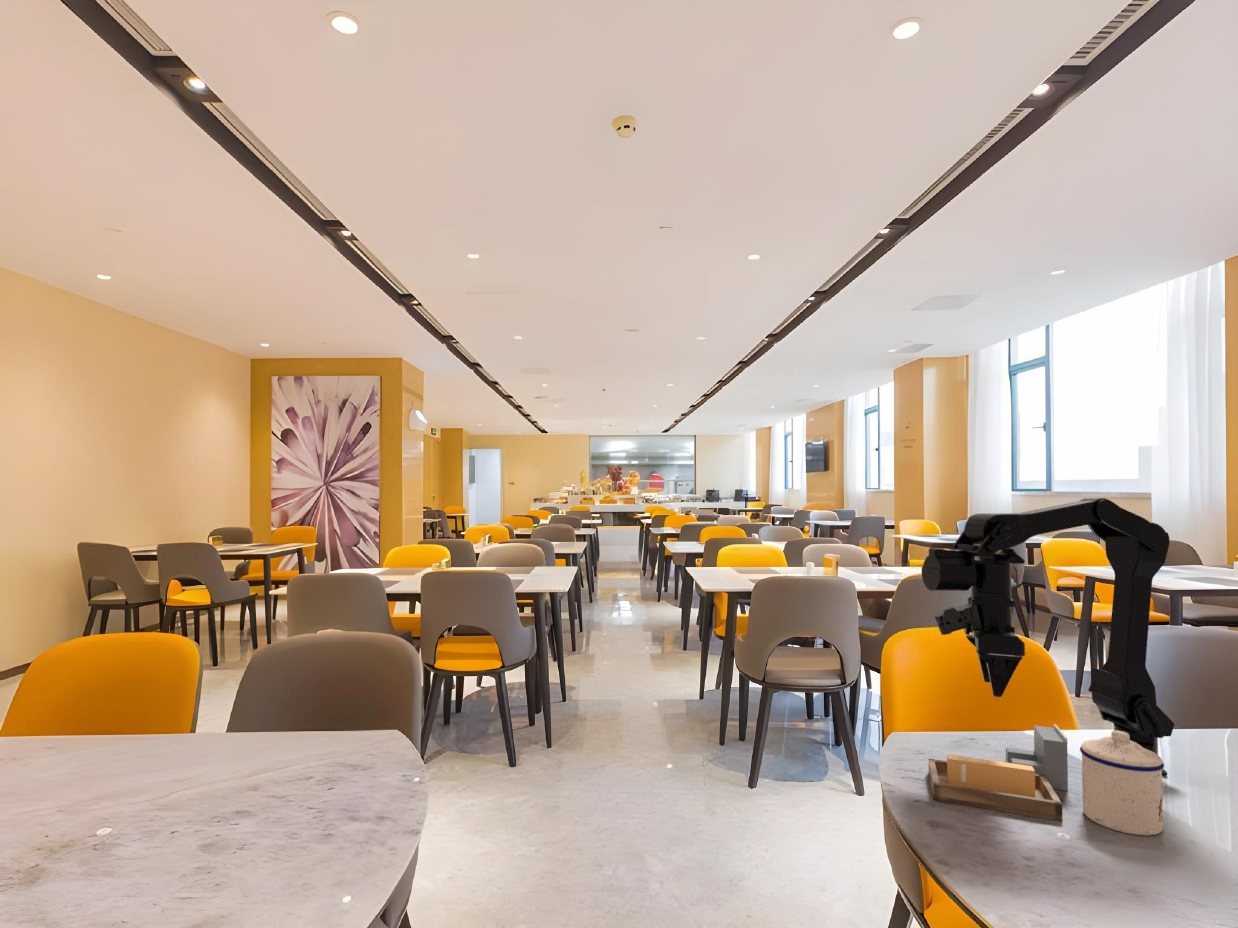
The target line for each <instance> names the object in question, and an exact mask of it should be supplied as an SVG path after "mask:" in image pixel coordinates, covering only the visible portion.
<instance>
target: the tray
mask: <svg viewBox="0 0 1238 928" xmlns="http://www.w3.org/2000/svg"><path fill="white" fill-rule="evenodd" d="M928 776H929V781H930V788H931V794H932V800H933V801H937V802H944V803H949V804H957V805H962V806H969V807H973V808H980V809H987V810H992V811H998V812H1005V813H1010V814H1011V813H1012V814H1017V815H1023V816H1029V817H1036V818H1042V819H1047V820H1048V819H1049V820H1052V821H1053V820H1055V821H1060V822H1063V803H1062V801H1061V800H1060V798H1059V796H1058V795H1057V793H1056V791H1055V789H1053V788H1052V786H1051V785H1050V783H1049V782H1048V780H1047V778H1046V777H1045V775H1041V774H1035V798H1034V797H1027V796H1021V795H1014V794H1008V793H1001V792H995V791H988V790H982V789H975V788H969V787H962V786H956V785H949V784H948V783H947V760H944V759H943V760H941V759H935V758H928Z"/></svg>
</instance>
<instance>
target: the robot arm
mask: <svg viewBox="0 0 1238 928" xmlns="http://www.w3.org/2000/svg"><path fill="white" fill-rule="evenodd" d="M1084 526H1088V528H1089V529H1090V531H1091V532H1092V534H1093V535H1094V536H1096V537H1097V538H1098V539H1100V540H1102V541H1103V542H1104V544H1105V545H1104V546H1105V555H1106V558H1107V560H1108V562H1109V564H1110V566H1111V568H1112V570H1113V573H1114V580H1113V581H1114V584H1113V593H1112V595H1113V597H1112V606H1111V607H1112V608H1111V616H1110V617H1111V619H1110V630H1109V631H1110V633H1109V643H1108V644H1109V646H1108V657H1107V660H1106V662H1105V663H1104V664H1103V665H1102V666H1101V667H1100V668H1096V667H1092V668H1091V670H1090V677H1091V679H1090V680H1091V681H1090V685H1089V688H1088V692H1089V693H1091V699H1092V702H1093V703H1094V704H1095V705H1096V707H1097V708H1098V711H1099V713H1100V716H1101V719H1102V720H1103V721H1107V722H1110V723H1112V724H1113V731H1114V730H1118V731H1123V732H1126V733H1128V734H1129V736H1130V740H1131V741H1134V742H1136V743H1137V744H1139V745H1140V746H1142V747H1143V748H1145V749H1148V750H1150V751H1152V752H1154V753H1156V754H1157V755H1158V756H1159V739H1163V738H1164V737H1171V736H1172V733H1173V731H1174V727H1175V723H1174V721H1172V719H1171V718H1169V717H1168V715H1167V714H1166V713H1165V712H1164V711H1163V710H1162V709H1161V708H1160V707H1159V706H1158V705H1157V702H1158V701H1157V693H1156V692H1157V691H1156V685H1155V684H1154V682H1153V680H1152V678H1151V676H1150V673H1149V672H1148V670H1147V667H1146V665H1147V663H1146V662H1147V653H1148V641H1149V640H1148V638H1149V637H1148V636H1149V628H1150V627H1149V624H1150V612H1151V601H1152V590H1153V589H1152V587H1153V579H1154V578H1155V577H1154V576H1156V574H1157V573H1158V572H1159V571H1160V570H1161V569H1162V567H1163V566H1164V564H1165V563H1166V559H1167V555H1168V551H1169V549H1170V548H1169V547H1170V540H1171V539H1170V536H1169V533H1168V532H1167V531H1166V530H1165V529H1164V527H1162V525H1160V524H1158V523H1155V522H1151V521H1149V520H1147V519H1146V518H1144V517H1143V516H1140V515H1138V514H1136V513H1134V512H1132V511H1129V510H1127V509H1124V508H1123V507H1121V506H1119V505H1118V504H1116V502H1113V501H1112V500H1110V499H1108V498H1105V497H1102V498H1101V497H1100V498H1099V497H1098V498H1096V497H1095V498H1093V497H1092V498H1081V499H1080V500H1078V501H1074V502H1073V501H1072V502H1068V503H1063V504H1057V505H1053V506H1047V507H1043V508H1038V509H1032V510H1028V511H1024V512H1014V513H1013V512H1011V513H1010V512H1009V513H1007V512H1006V513H1003V512H1001V513H994V512H993V513H975V514H971V516H969V517H968V518H967V521H966V522H965V526H964V529H963V531H962V532H961V534H960V535H959V536H958V538H957V539H956V540H955V542H954V544H953V545H952V546H951V548H950V549H944V548H938V547H937V548H936V547H933V548H932V547H930V548H929V549H928V556H926V558H925V559H924V561H923V565H922V567H921V578H922V582H923V584H924V586H925V588H926V589H927V590H929V591H930V592H931V591H932V592H933V591H934V592H935V591H937V592H941V591H942V592H957V591H958V592H966V591H969V590H971V593H970V594H969V596H967V603H966V604H961V605H957V606H951V607H950V608H943V609H941V610H938V611H935V612H933V613H932V614H933V616H934V620H935V622H936V625H937V628H938V629H939V630H938V631H939V633H940V634H941V635H942V636H946V635H951V634H952V633H953V632H956V631H961V630H963V632H964V634H965V638H966V639H967V640H968V641H969V642H970V643H971V645H973V646H974V648H975V652H976V653H977V656H978V661H979V664H980V665H979V666H980V668H981V669H980V670H981V673H982V677H983V681H984V682H985V683H990V686H991V692H992V695H993V696H994V697H995V698H996V697H997V698H1001V697H1003V694H1004V692H1005V691H1006V689H1007V687H1008V684H1009V682H1010V680H1011V678H1012V677H1013V674H1014V673H1015V671H1016V669H1017V667H1018V666H1019V663H1020V662H1021V661H1022V660H1023V657H1024V656H1025V655H1026V652H1025V651H1026V644H1025V642H1024V641H1023V640H1022V639H1021V638H1020V637H1019V636H1017V634H1016V633H1015V632H1016V630H1015V626H1014V625H1013V614H1012V613H1013V612H1012V611H1013V610H1012V609H1013V607H1015V599H1013V598H1012V565H1014V564H1015V565H1018V564H1019V565H1023V564H1025V562H1026V560H1025V559H1024V558H1023V557H1021V556H1020V555H1019V554H1018V553H1017V552H1016V551H1015V549H1013V548H1014V547H1017V546H1020V545H1022V544H1024V543H1025V542H1026V541H1028V540H1030V538H1033V537H1035V536H1039V535H1043V534H1049V533H1054V532H1058V531H1064V530H1068V529H1069V530H1070V529H1074V528H1078V527H1084ZM999 551H1000V552H999ZM975 557H978V558H975ZM970 588H971V589H970ZM1162 776H1166V777H1167V776H1168V771H1166V770H1165V769H1164V768H1163V769H1162Z"/></svg>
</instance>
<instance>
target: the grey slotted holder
mask: <svg viewBox="0 0 1238 928" xmlns="http://www.w3.org/2000/svg"><path fill="white" fill-rule="evenodd" d="M1033 743H1034V744H1033V746H1034V747H1033V749H1034V750H1028V749H1022V748H1021V749H1019V748H1013V747H1005V762H1007V763H1014V764H1021V765H1028V766H1032V767H1033V769H1034V770H1035V774H1041V775H1045V777H1046V778H1047V780H1048V782H1049V783H1050V785H1051V786H1052V788H1053V790H1059V791H1066V792H1068V791H1069V786H1068V785H1069V784H1068V783H1069V778H1068V775H1069V773H1068V772H1069V771H1068V767H1069V766H1068V737H1067V736H1066V735H1065V733H1064V732H1063V731H1062V730H1061V729H1060V728H1059V726H1058V724H1055V723H1053V727H1050V726H1043V725H1042V726H1040V725H1033Z"/></svg>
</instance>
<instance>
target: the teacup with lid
mask: <svg viewBox="0 0 1238 928" xmlns="http://www.w3.org/2000/svg"><path fill="white" fill-rule="evenodd" d="M1110 735H1111V736H1104V737H1101V738H1099V739H1089V740H1085V741H1084V742H1082V744H1081V746H1080V747H1079V752H1081V761H1082V762H1081V763H1082V764H1081V765H1082V767H1081V770H1082V771H1081V773H1082V779H1081V780H1082V811H1083V813H1084V815H1085V816H1086V817H1087V818H1088V819H1090V820H1091V821H1093V822H1095V824H1098V825H1101V826H1102V827H1105V828H1108V829H1110V830H1114V831H1117V832H1121V833H1125V834H1129V835H1130V834H1131V835H1134V836H1135V835H1136V836H1153V835H1154V836H1155V835H1158V834H1160V833H1161V832H1163V829H1164V825H1163V824H1164V821H1163V813H1164V812H1163V775H1162V769H1164V767H1165V764H1164V762H1163V759H1162V758H1161V756H1160V755H1159V754H1158V755H1157V754H1156V753H1154V752H1152V751H1150V750H1148V749H1145V748H1143V747H1142V746H1140V745H1139V744H1137V743H1136V742H1134V741H1131V740H1130V736H1129V734H1128V733H1126V732H1123V731H1118V730H1114V729H1113V730H1112V731H1111V733H1110Z"/></svg>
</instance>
